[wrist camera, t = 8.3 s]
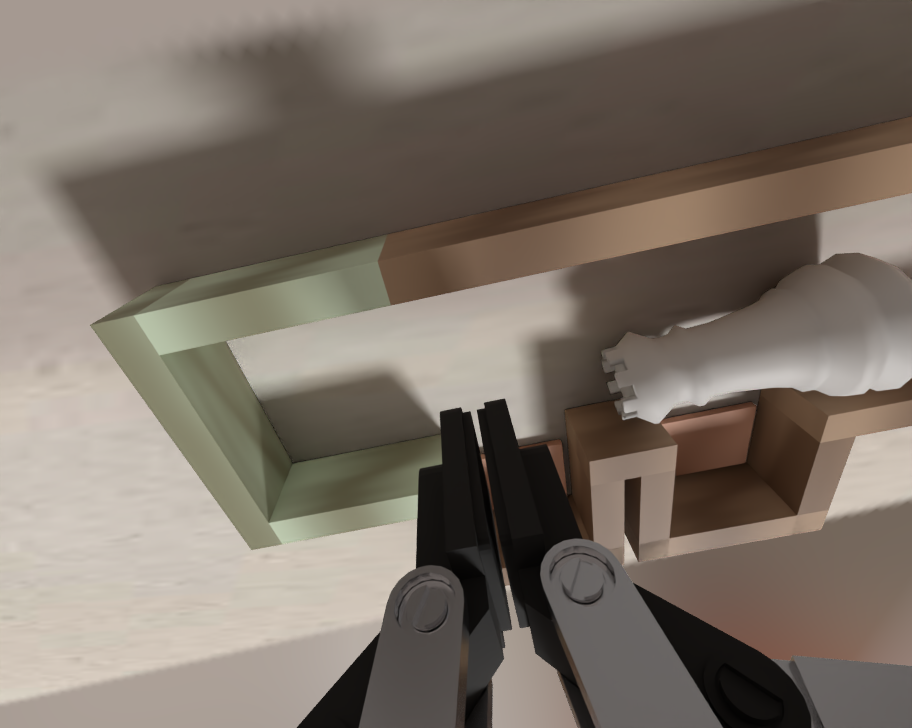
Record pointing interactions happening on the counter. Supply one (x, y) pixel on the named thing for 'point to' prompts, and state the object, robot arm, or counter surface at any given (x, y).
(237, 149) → the counter surface
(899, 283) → the rook chess piece
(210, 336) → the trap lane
